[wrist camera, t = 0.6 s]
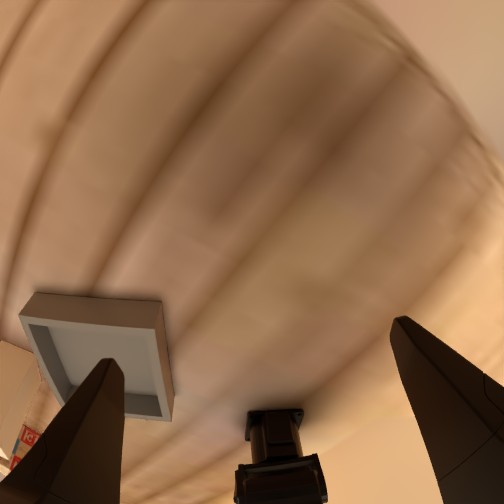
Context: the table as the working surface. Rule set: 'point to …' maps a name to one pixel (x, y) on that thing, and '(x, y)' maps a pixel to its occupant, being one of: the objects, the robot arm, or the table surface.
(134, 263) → the table surface
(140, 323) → the grey square tray
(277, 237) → the table surface
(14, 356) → the cream block
